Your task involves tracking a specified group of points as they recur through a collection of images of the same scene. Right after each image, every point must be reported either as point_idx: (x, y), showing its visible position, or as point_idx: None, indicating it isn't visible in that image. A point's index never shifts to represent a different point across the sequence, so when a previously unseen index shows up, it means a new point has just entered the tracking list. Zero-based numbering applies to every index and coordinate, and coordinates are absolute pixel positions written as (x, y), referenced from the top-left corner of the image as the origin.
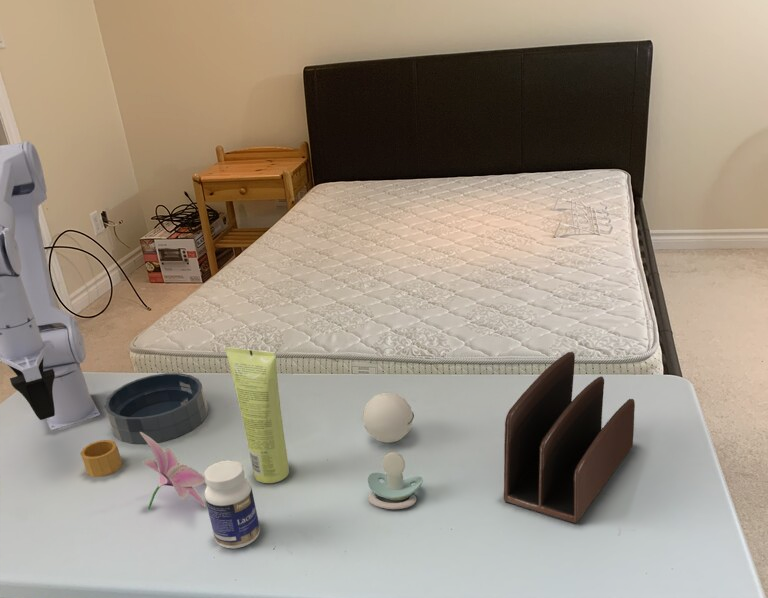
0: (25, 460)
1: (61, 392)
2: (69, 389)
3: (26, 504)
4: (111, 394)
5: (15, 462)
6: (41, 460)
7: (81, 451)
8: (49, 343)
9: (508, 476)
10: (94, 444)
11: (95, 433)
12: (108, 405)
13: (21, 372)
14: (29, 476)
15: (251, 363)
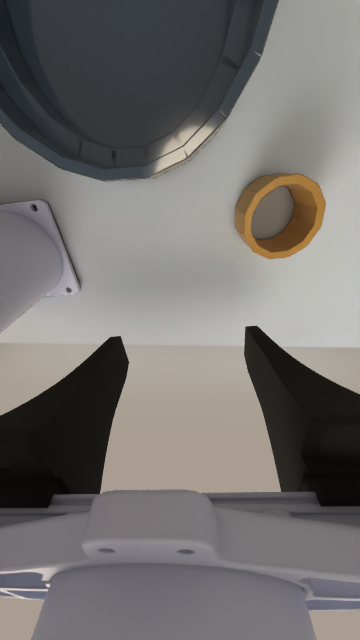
0: (154, 326)
1: (21, 285)
2: (9, 267)
3: (277, 328)
4: (35, 149)
5: (153, 337)
6: (166, 308)
7: (265, 256)
8: (166, 551)
9: None
10: (251, 227)
11: (112, 217)
12: (108, 168)
13: (103, 435)
14: (204, 323)
15: None
